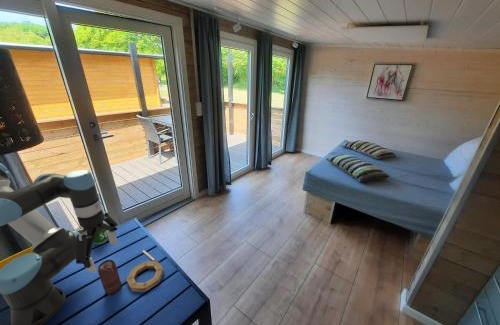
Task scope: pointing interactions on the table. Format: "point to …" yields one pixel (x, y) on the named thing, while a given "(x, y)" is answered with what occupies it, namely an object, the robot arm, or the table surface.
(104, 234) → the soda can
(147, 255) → the straight beige square stick
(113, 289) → the can
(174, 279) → the table surface
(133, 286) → the wooden ring
